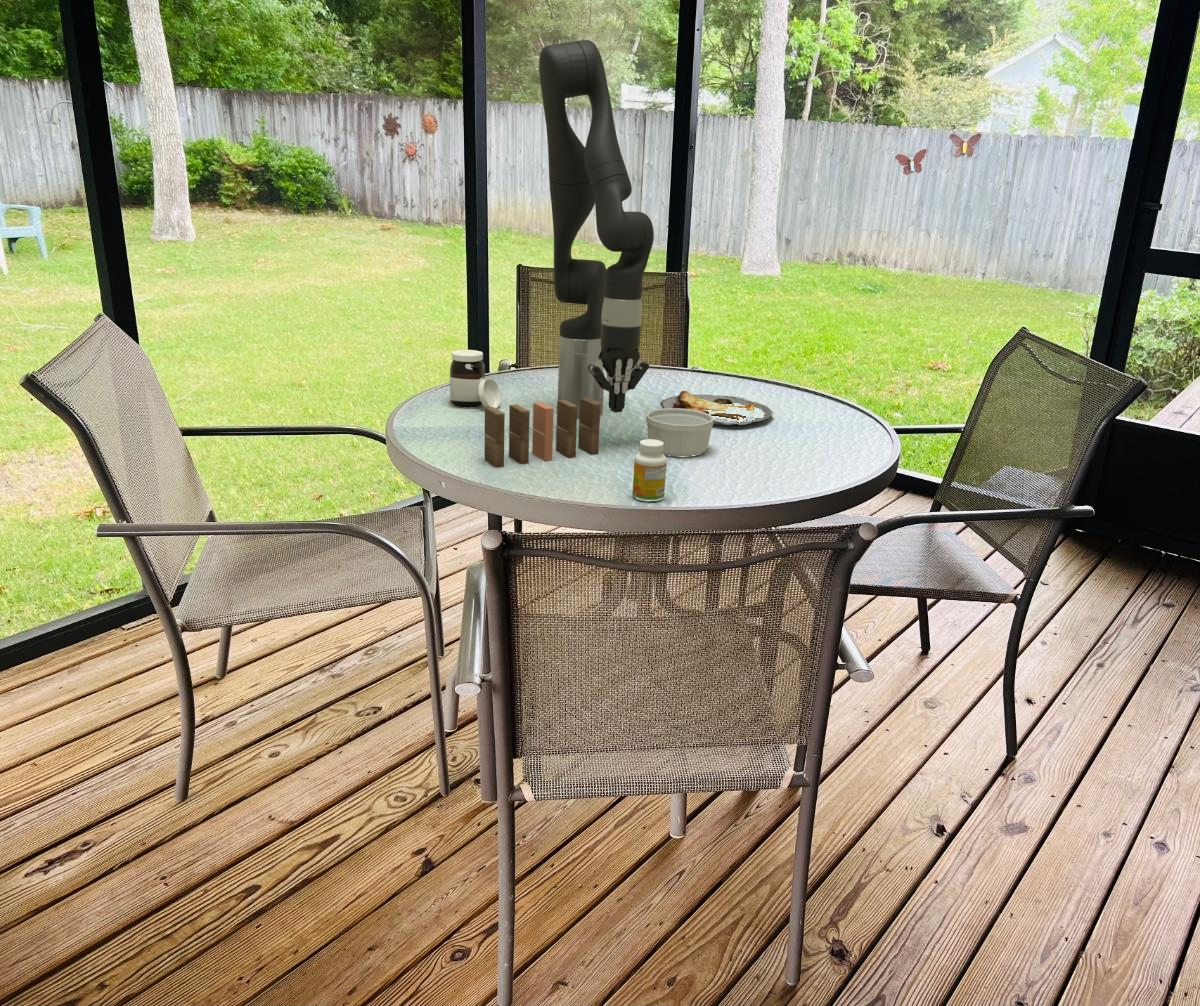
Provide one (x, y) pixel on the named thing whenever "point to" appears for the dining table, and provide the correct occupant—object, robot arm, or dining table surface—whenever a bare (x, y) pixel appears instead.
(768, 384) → the dining table surface
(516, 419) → the domino
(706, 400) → the food plate
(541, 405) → the domino
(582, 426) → the domino
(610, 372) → the robot arm
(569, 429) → the domino
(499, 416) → the domino
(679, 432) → the ramekin
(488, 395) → the spread jar
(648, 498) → the supplement bottle
